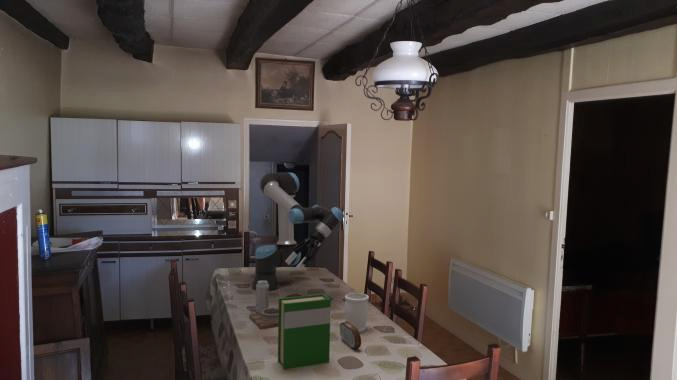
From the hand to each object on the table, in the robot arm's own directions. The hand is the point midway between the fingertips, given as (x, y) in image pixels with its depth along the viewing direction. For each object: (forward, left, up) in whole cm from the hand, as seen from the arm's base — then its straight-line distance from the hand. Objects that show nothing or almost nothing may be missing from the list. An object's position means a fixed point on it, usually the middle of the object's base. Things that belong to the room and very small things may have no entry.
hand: (292, 266), depth 245 cm
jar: (+37, +15, -22) cm, 45 cm away
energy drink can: (-1, -15, -22) cm, 26 cm away
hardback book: (+58, -19, -22) cm, 65 cm away
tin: (+51, +4, -22) cm, 56 cm away
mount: (+12, -15, -21) cm, 29 cm away
